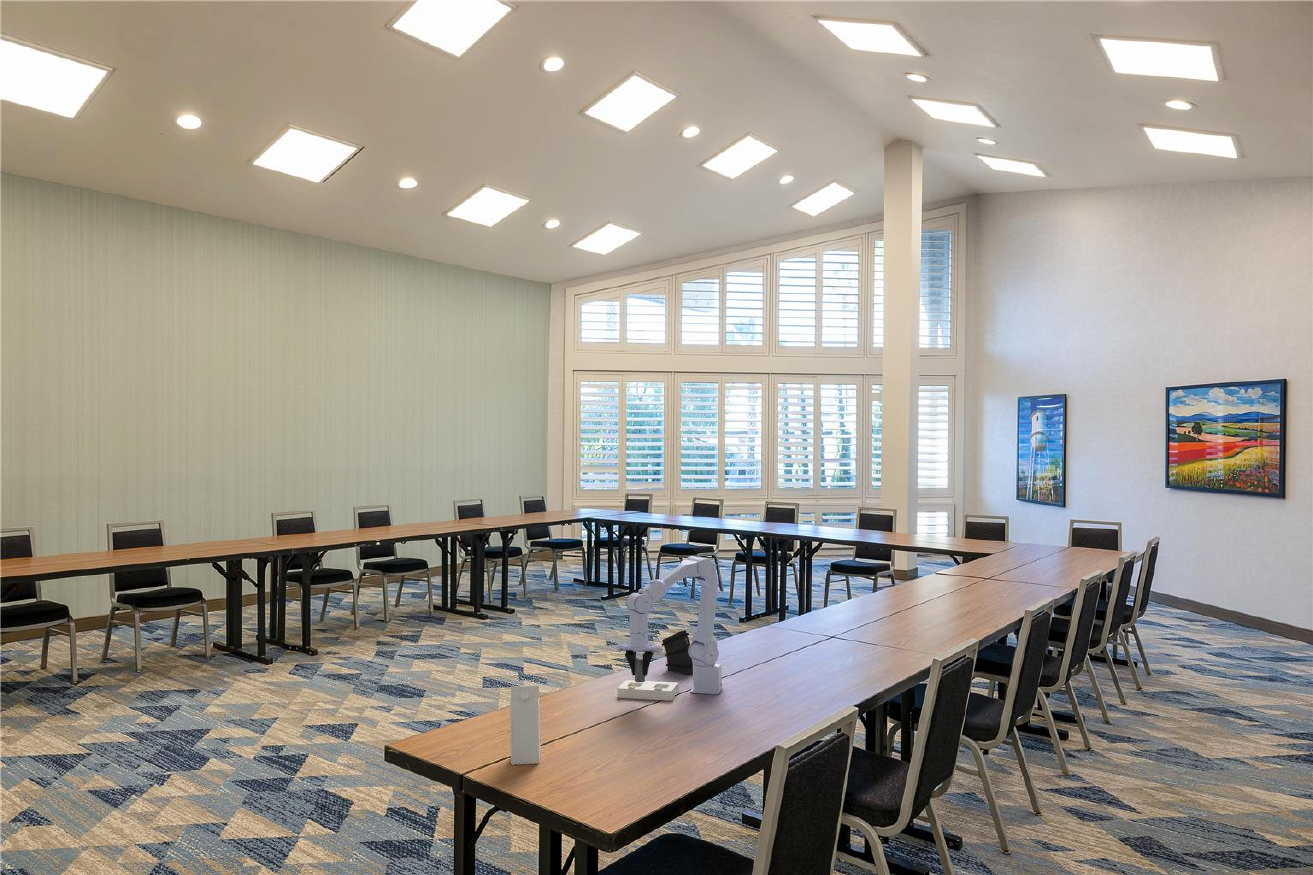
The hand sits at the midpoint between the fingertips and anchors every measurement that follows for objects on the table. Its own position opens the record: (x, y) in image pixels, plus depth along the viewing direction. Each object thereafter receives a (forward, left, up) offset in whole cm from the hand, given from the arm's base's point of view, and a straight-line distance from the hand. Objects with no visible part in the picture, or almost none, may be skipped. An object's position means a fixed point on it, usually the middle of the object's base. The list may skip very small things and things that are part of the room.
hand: (639, 674), depth 264 cm
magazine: (-3, -39, -9) cm, 41 cm away
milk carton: (+16, +53, -9) cm, 56 cm away
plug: (0, 0, -2) cm, 2 cm away
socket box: (0, -9, -9) cm, 13 cm away
